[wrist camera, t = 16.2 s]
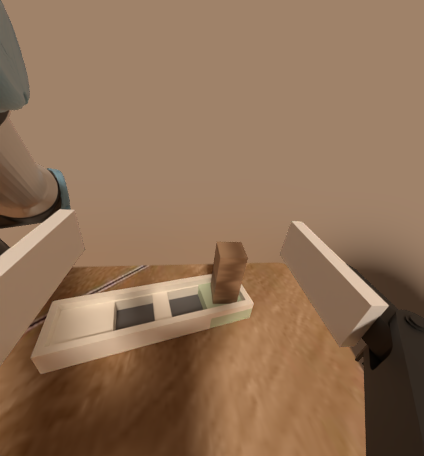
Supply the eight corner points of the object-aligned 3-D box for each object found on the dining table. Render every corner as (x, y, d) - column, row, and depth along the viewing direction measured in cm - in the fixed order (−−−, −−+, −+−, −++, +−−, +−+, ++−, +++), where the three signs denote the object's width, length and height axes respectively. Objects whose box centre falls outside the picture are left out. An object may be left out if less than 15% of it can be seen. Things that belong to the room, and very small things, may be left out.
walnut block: (212, 303, 40) (220, 257, 35) (210, 285, 45) (216, 241, 39) (236, 303, 41) (247, 258, 35) (232, 285, 45) (241, 242, 40)
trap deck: (40, 374, 30) (30, 358, 27) (59, 317, 38) (52, 301, 35) (249, 317, 42) (253, 303, 40) (230, 283, 50) (232, 270, 48)
